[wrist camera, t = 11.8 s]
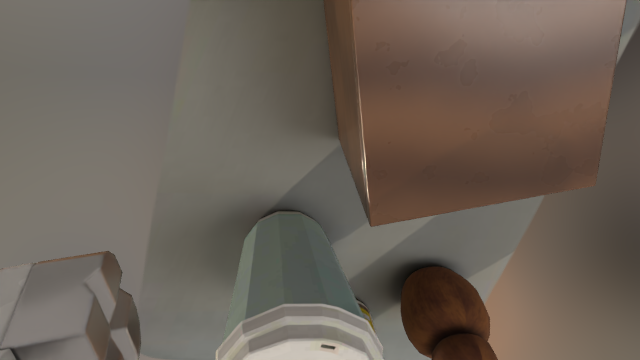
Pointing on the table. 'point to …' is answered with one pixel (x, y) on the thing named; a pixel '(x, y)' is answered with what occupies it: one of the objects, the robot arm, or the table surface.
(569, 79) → the lid
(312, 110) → the table surface
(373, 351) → the disposable coffee cup
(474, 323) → the wooden figurine
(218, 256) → the table surface
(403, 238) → the table surface
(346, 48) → the chest
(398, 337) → the table surface
